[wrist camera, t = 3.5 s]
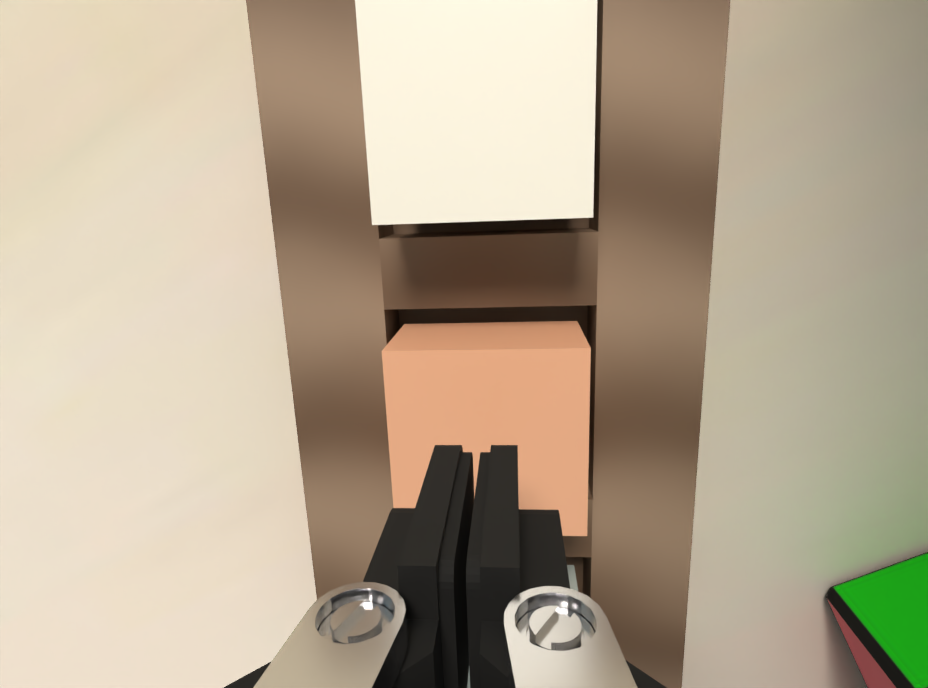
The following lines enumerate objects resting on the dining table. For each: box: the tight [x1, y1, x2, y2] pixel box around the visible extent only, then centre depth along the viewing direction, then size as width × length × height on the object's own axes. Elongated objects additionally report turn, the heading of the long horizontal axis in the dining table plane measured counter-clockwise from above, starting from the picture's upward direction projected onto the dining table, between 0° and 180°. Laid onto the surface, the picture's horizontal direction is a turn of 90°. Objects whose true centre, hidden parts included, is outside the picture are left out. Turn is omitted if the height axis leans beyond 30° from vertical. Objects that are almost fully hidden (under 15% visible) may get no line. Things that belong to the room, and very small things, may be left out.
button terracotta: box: [382, 321, 591, 536], centre depth 16 cm, size 5×5×3 cm
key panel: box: [246, 0, 730, 688], centre depth 18 cm, size 24×12×2 cm, turn 2°
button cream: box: [355, 0, 597, 225], centre depth 14 cm, size 5×5×3 cm
